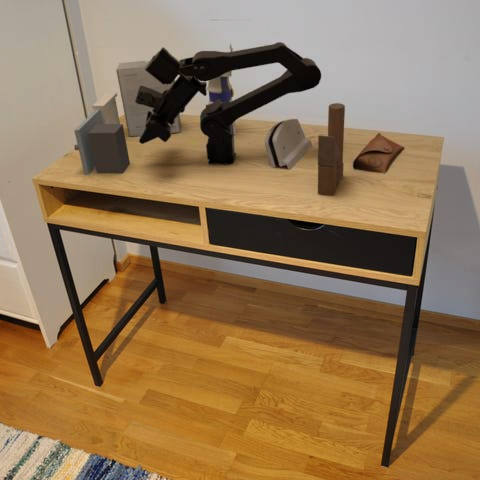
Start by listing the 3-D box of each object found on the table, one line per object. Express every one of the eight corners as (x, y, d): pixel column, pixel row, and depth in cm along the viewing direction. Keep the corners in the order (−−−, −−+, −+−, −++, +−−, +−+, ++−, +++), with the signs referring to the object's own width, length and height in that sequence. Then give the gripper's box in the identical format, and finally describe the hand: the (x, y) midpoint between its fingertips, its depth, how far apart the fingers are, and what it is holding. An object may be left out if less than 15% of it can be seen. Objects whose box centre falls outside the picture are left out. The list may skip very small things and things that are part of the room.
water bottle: (226, 125, 167) (220, 39, 154) (242, 133, 161) (237, 43, 148) (203, 132, 163) (194, 44, 150) (218, 140, 157) (211, 49, 144)
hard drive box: (181, 124, 170) (173, 57, 160) (180, 133, 164) (172, 64, 153) (130, 128, 170) (119, 61, 159) (127, 137, 163) (115, 69, 153)
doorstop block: (129, 163, 147) (122, 124, 141) (122, 173, 142) (115, 132, 136) (104, 163, 148) (96, 124, 142) (96, 173, 143) (88, 133, 137)
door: (109, 149, 156) (100, 108, 150) (88, 174, 143) (78, 130, 137) (98, 149, 157) (90, 108, 150) (77, 174, 143) (67, 130, 137)
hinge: (289, 170, 138) (276, 133, 134) (273, 173, 141) (259, 137, 137) (312, 145, 150) (300, 110, 147) (297, 148, 153) (285, 114, 149)
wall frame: (124, 135, 165) (117, 92, 158) (112, 150, 156) (103, 105, 149) (114, 135, 166) (106, 92, 159) (101, 150, 156) (92, 105, 149)
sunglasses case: (386, 174, 133) (374, 150, 131) (361, 183, 137) (348, 160, 136) (406, 146, 146) (395, 124, 144) (382, 156, 150) (371, 134, 149)
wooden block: (317, 194, 126) (318, 118, 117) (328, 174, 135) (330, 101, 125) (333, 196, 125) (335, 119, 116) (343, 176, 134) (346, 102, 124)
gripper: (154, 64, 141) (118, 110, 147) (148, 86, 125) (108, 136, 131) (189, 92, 145) (153, 136, 151) (187, 117, 129) (147, 164, 135)
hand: (140, 142), depth 142 cm, fingers closed
